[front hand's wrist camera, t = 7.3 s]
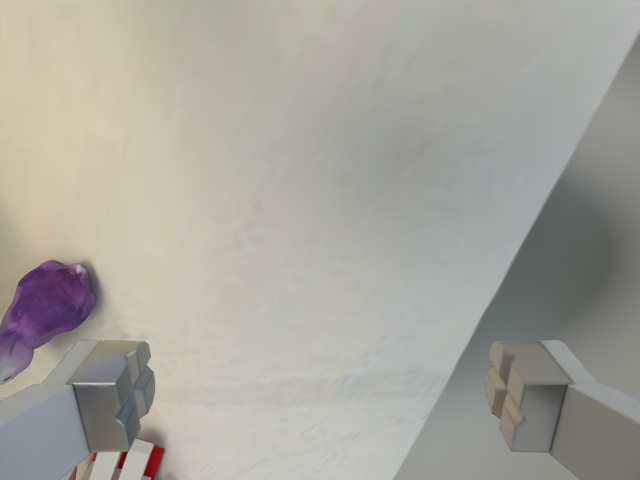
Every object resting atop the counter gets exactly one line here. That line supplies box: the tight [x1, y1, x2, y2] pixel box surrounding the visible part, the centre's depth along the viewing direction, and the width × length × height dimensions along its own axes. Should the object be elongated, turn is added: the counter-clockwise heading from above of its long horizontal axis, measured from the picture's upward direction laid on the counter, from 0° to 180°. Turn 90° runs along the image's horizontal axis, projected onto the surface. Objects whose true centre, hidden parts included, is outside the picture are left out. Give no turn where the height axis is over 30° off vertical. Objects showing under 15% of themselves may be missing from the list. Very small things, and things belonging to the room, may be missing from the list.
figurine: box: [0, 261, 96, 385], centre depth 49 cm, size 9×10×15 cm
